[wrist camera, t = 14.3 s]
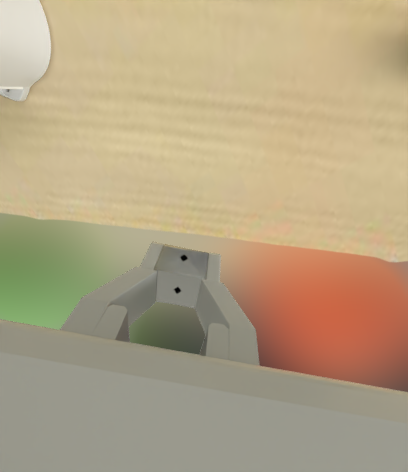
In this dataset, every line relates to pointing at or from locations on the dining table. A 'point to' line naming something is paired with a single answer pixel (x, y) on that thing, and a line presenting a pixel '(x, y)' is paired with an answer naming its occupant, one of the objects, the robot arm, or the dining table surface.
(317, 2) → the dining table surface
